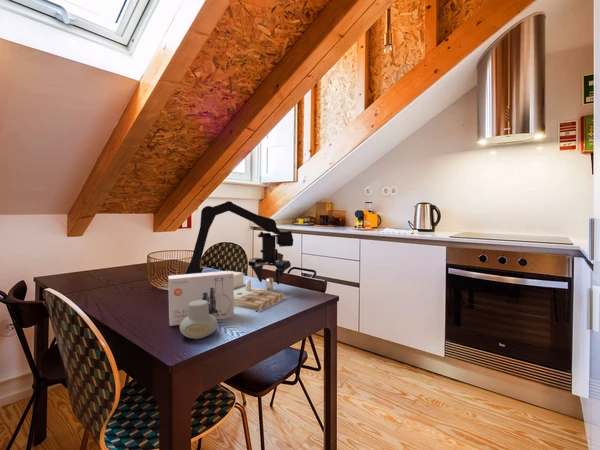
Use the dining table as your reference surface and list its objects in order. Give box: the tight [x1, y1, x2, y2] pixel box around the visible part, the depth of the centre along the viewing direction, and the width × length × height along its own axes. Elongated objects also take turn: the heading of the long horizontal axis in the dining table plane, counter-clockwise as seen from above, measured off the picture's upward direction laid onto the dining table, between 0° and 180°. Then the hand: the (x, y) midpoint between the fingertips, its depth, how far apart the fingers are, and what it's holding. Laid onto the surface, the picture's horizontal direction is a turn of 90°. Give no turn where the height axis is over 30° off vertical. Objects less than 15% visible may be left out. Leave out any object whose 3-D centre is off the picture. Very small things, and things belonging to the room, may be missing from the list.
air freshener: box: [179, 300, 219, 340], centre depth 97 cm, size 11×8×10 cm
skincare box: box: [167, 270, 235, 327], centre depth 110 cm, size 21×5×16 cm, turn 114°
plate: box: [234, 279, 266, 299], centre depth 142 cm, size 16×11×5 cm
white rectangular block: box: [232, 271, 244, 289], centre depth 151 cm, size 12×7×6 cm, turn 150°
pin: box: [265, 277, 274, 292], centre depth 140 cm, size 3×3×7 cm
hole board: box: [234, 289, 285, 313], centre depth 128 cm, size 18×12×2 cm, turn 151°
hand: (269, 282), depth 140 cm, fingers open, 9 cm apart
